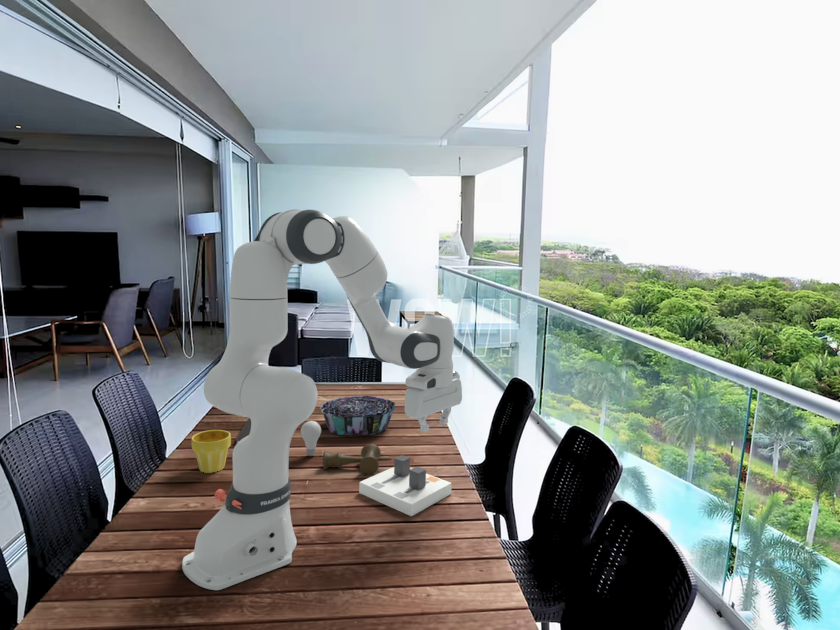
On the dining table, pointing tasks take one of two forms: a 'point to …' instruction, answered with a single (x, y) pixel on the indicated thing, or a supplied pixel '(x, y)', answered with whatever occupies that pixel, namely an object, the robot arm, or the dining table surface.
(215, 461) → the plant pot
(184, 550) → the dining table surface
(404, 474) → the block
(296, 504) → the dining table surface
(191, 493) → the dining table surface
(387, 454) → the dining table surface
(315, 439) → the lightbulb
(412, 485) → the block
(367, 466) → the kendama
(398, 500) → the breaker panel
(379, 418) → the decorative bowl
